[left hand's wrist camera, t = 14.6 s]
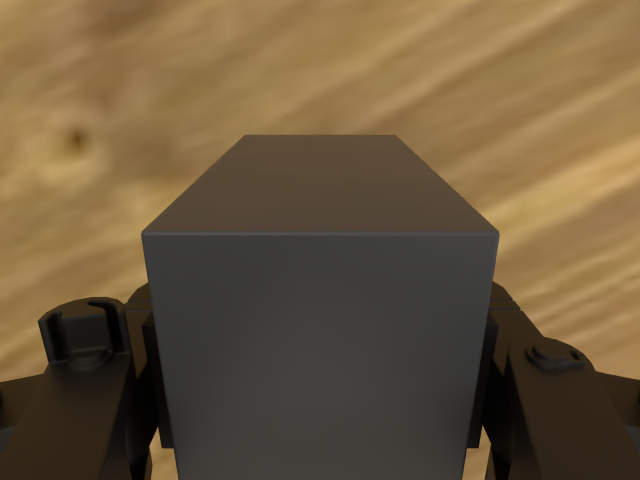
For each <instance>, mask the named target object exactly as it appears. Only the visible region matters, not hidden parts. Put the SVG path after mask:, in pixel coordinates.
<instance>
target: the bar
mask: <svg viewBox="0 0 640 480" xmlns="http://www.w3.org/2000/svg"><path fill="white" fill-rule="evenodd" d="M499 235H500V234H499V231H498V230H497V229H496V228H495V227H494V226H492V225H491V224H490V223H489V222H488V221H487V220H486V219H485V218H484V217H483V216H482V215H481V214H480V213H479V212H477V211H476V210H475V209H474V208H473V207H472V206H471V205H470V204H469V203H468V202H467V201H466V200H465V199H464V198H462V197H461V196H460V195H459V194H458V193H457V192H456V191H455V190H454V189H453V188H452V187H451V186H450V185H449V184H447V183H446V182H445V181H444V180H443V179H442V178H441V177H440V176H439V175H438V174H437V173H436V172H435V171H434V170H432V169H431V168H430V167H429V166H428V165H427V164H426V163H425V162H424V161H423V160H422V159H421V158H420V157H418V156H417V155H416V154H415V153H414V152H413V151H412V150H411V149H410V148H409V147H408V146H407V145H406V144H405V143H403V142H402V141H401V140H400V139H399V138H398V137H397V136H396V135H245V136H243V137H242V138H241V139H240V140H239V141H238V142H237V143H236V144H235V145H234V146H233V147H232V148H231V149H229V150H228V151H227V152H226V153H225V154H224V155H223V156H222V157H221V158H220V159H219V160H218V161H217V162H216V163H214V164H213V165H212V166H211V167H210V168H209V169H208V170H207V171H206V172H205V173H204V174H203V175H202V176H201V177H200V178H198V179H197V180H196V181H195V182H194V183H193V184H192V185H191V186H190V187H189V188H188V189H187V190H186V191H185V192H183V193H182V194H181V195H180V196H179V197H178V198H177V199H176V200H175V201H174V202H173V203H172V204H171V205H170V206H169V207H167V208H166V209H165V210H164V211H163V212H162V213H161V214H160V215H159V216H158V217H157V218H156V219H155V220H154V221H152V222H151V223H150V224H149V225H148V226H147V227H146V228H145V229H144V230H143V231H142V233H141V237H142V244H143V250H144V257H145V263H146V270H147V276H148V283H149V289H150V296H151V303H152V309H153V316H154V322H155V329H156V335H157V342H158V348H159V355H160V361H161V368H162V375H163V381H164V388H165V394H166V401H167V407H168V414H169V420H170V427H171V433H172V440H173V447H174V453H175V460H176V466H177V473H178V479H179V480H462V477H463V470H464V464H465V457H466V451H467V444H468V437H469V431H470V424H471V418H472V411H473V405H474V398H475V392H476V385H477V379H478V372H479V366H480V359H481V353H482V346H483V340H484V333H485V327H486V320H487V314H488V307H489V301H490V294H491V288H492V281H493V275H494V268H495V262H496V255H497V249H498V242H499Z"/></svg>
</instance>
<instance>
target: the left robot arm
mask: <svg viewBox="0 0 640 480" xmlns="http://www.w3.org/2000/svg"><path fill="white" fill-rule="evenodd" d="M38 324H39V328H40V332H41V335H42V339H43V343H44V347H45V351H46V355H47V358H48V362H49V364H48V366H47V368H46V370H45V372H44V374H40V375H36V376H31V377H26V378H20V379H15V380H10V381H5V382H0V480H151V473H152V459H151V452H150V447H149V445H150V443H151V441H152V439H153V436H154V434H155V432H156V430H157V427H158V428H159V434H160V440H161V446H162V448H174V447H173V440H172V433H171V427H170V420H169V414H168V407H167V401H166V394H165V388H164V381H163V375H162V368H161V361H160V355H159V348H158V342H157V335H156V329H155V322H154V316H153V309H152V303H151V296H150V289H149V283H146V284H145V285H143V286H141V287H140V288H138V289H137V290H136V291H135V292H134V294H133V295H132V296H131V297H130V299H129V300H128V303H126V304H125V305H124V304H123V303H121V302H120V301H119V300H117V299H113V298H108V297H90V298H84V299H79V300H74V301H71V302H68V303H65V304H62V305H59V306H58V307H56V308H54V309H52V310H50V311H48V312H47V313H45V314H44V315H43V316H42V317H41V318H40V319H39V320H38ZM482 424H483V427H484V429H485V431H486V433H487V436H488V438H489V440H490V442H491V447H490V452H489V458H488V464H487V469H486V475H485V480H640V380H636V379H631V378H626V377H620V376H615V375H610V374H605V373H601V372H597V371H595V369H594V367H593V365H592V363H591V362H590V361H589V360H588V358H587V357H586V356H585V355H584V354H583V353H582V352H580V351H579V350H577V349H576V348H574V347H573V346H571V345H568V344H566V343H563V342H561V341H558V340H556V339H551V338H546V337H543V335H542V334H541V333H540V332H539V330H538V329H537V328H536V327H535V326H534V324H533V323H532V322H531V321H530V319H529V318H528V317H527V316H526V315H525V313H524V312H523V311H520V307H519V306H518V305H517V304H516V302H515V301H513V299H512V297H511V296H510V295H509V294H508V293H507V291H506V290H505V289H504V288H503V287H502V286H500V285H498V284H497V283H495V282H493V281H492V288H491V294H490V301H489V307H488V314H487V320H486V327H485V333H484V340H483V346H482V353H481V359H480V366H479V372H478V379H477V385H476V392H475V398H474V405H473V411H472V418H471V424H470V431H469V437H468V444H467V448H479V442H480V436H481V430H482Z"/></svg>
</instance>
